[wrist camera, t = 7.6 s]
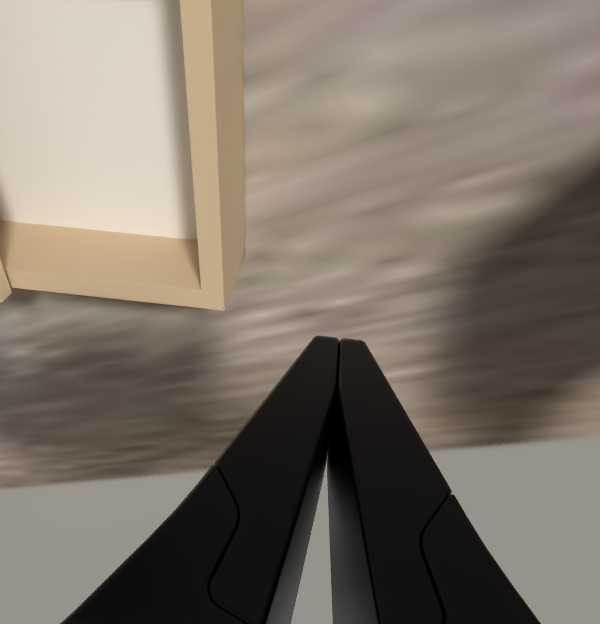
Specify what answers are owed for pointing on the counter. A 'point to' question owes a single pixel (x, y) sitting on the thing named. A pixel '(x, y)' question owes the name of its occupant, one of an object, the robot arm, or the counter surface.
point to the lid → (3, 284)
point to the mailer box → (123, 148)
